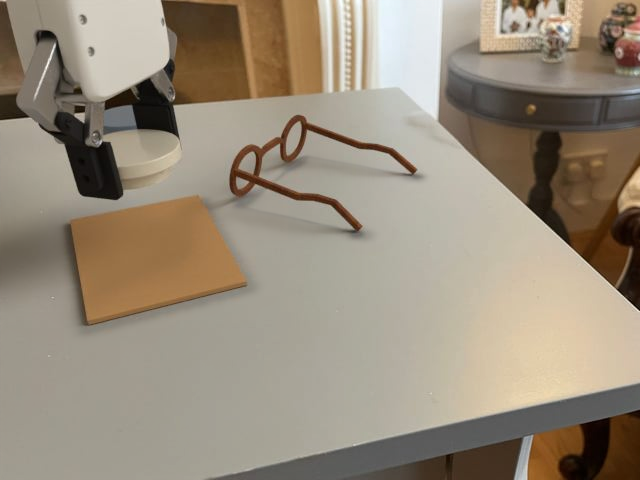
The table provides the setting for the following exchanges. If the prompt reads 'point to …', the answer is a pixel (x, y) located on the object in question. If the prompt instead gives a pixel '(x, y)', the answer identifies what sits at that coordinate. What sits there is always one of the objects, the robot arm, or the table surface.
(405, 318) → the table surface
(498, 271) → the table surface
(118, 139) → the top plate
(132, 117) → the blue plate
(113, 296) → the mat
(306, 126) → the glasses
